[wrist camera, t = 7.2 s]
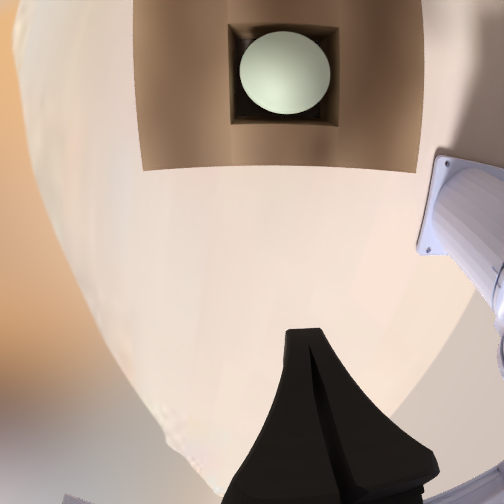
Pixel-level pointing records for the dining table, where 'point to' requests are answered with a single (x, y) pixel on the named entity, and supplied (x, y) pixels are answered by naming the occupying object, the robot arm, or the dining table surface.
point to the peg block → (279, 127)
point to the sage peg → (285, 72)
